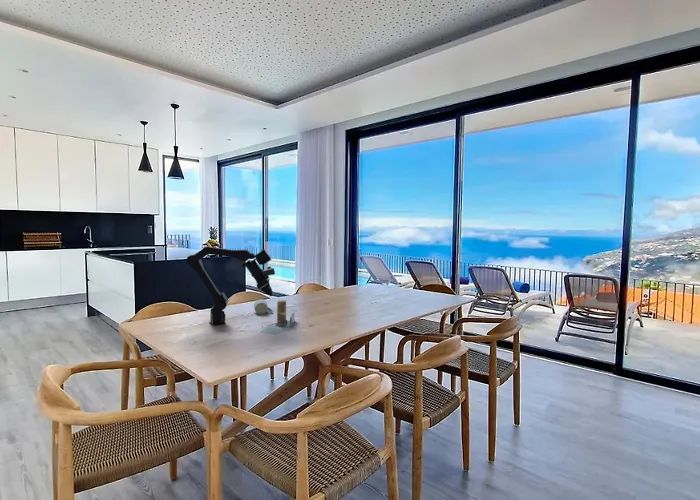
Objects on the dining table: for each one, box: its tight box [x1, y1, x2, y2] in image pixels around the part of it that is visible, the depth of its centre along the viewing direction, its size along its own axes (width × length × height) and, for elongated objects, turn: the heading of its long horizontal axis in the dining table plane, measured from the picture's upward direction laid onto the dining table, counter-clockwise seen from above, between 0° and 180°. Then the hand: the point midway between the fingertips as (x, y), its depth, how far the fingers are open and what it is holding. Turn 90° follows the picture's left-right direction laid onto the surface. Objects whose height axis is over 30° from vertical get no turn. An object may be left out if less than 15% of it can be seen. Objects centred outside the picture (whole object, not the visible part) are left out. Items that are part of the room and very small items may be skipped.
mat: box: [260, 326, 286, 335], centre depth 181 cm, size 9×9×1 cm
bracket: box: [275, 312, 296, 328], centre depth 193 cm, size 8×12×5 cm
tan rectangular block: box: [276, 299, 287, 323], centre depth 193 cm, size 4×4×12 cm
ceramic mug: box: [253, 298, 274, 315], centre depth 217 cm, size 11×8×8 cm
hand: (272, 294), depth 197 cm, fingers open, 9 cm apart
